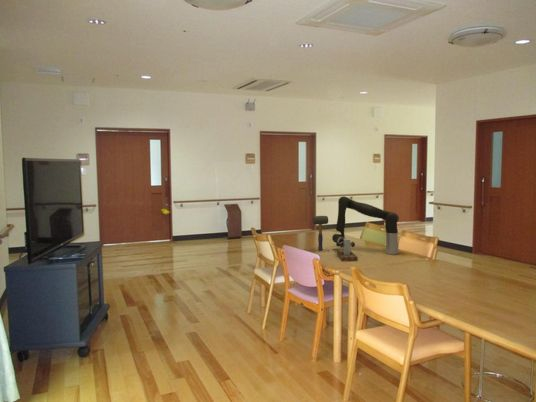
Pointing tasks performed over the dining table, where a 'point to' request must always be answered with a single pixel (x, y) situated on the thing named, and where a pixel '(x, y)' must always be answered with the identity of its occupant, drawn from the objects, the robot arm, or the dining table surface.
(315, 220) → the rubber mallet
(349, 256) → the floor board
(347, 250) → the plank post
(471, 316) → the dining table surface
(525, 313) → the dining table surface
